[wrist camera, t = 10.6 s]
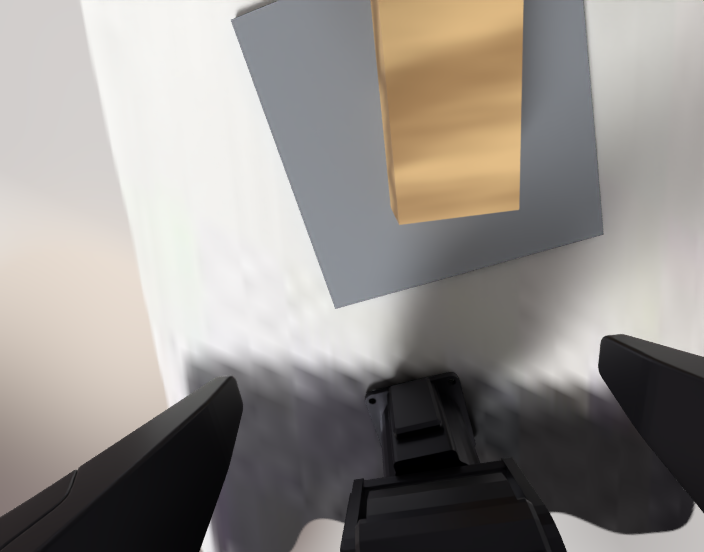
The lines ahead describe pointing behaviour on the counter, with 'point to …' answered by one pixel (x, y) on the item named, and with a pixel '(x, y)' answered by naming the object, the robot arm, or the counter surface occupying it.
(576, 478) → the counter surface
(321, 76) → the slate mat
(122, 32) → the counter surface
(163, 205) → the counter surface
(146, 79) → the counter surface
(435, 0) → the wood block
